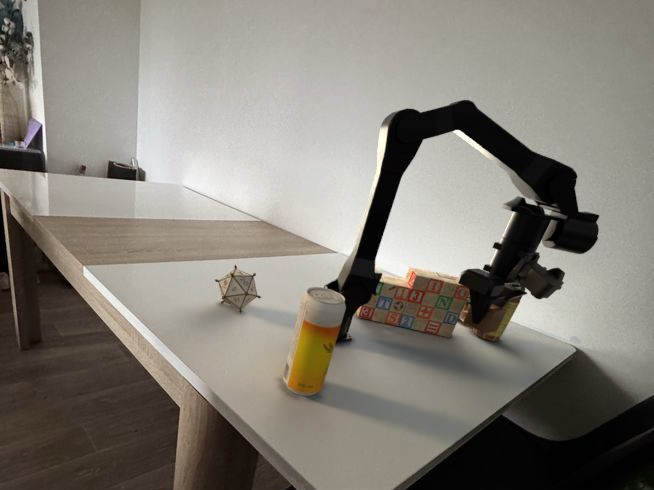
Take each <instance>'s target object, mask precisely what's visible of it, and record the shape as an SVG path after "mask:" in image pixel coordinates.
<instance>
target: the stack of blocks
mask: <svg viewBox="0 0 654 490" xmlns="http://www.w3.org/2000/svg"><path fill="white" fill-rule="evenodd" d="M458 279H459V276H458V277H457V276H453V275H450V274H448V273H443V272H438V271H432V270H427V269H423V268H418V267H413V266H408V269H407V272H406V274H405V277H404V278H401V277H396V276H392V275H388V274H383V273H382V277H381V280H380V282H379V283H378V285H377V289H376V296H374V295H373V294H372V297H371V299H370V301H369V302H368V303H367V304H365V305H363V306H360V307H359V309H358V310H357V311H356V315H357V318H360V319H366V320H371V321H373V322H378V323H383V324H388V325H392V326H396V327H397V326H398V327H401V328H406V329H410V330H416V331H419V332H424V333H428V334H433V335H437V336H441V337H445V338H451V337H452V335H453V332H454V330H455V328H456V325H457V323H458V321H459V320H460V319H459V317H460V315H461V313H462V311H463V309H464V307H465V305H466V302H467V298H468V296H469V294H470V293H469V288H468V287H465V286H463V285H461V284H459V283H458V282H457V281H458Z"/></svg>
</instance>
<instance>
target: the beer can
mask: <svg viewBox="0 0 654 490" xmlns="http://www.w3.org/2000/svg"><path fill="white" fill-rule="evenodd" d="M300 300H301V301H300V305H299V308H298V312H297V316H296V317H297V318H296V322H295V326H294V331H293V333H292V338H291V343H290V346H289V351H288V354H287V359H286V363H285V369H284V372H283V377H282V379H283V382H284V383H285V385H286V387H287V388H288V390H289V391H291V392H292V393H294V394H296V395H299V396H303V397H304V396H305V397H308V396H314V395H315V394H317V393H319V392H320V391H321V390H323V387H324V384H325V381H326V378H327V374H328V371H329V367H330V364H331V360H332V357H333V353H334V350H335V347H336V340H337V336H338V333H339V330H340V326H341V323H342V319H343V316H344V313H345V309H346V306H345V298H344V297H343V296H342V295H341V294H340V293H338V292H336V291H333V290H330V289H326V288H324V287H319V286H313V287H308V288H307V289H306V292H305V293H304V294H303V295H302V296H301V299H300Z"/></svg>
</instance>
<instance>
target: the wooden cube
mask: <svg viewBox="0 0 654 490" xmlns="http://www.w3.org/2000/svg"><path fill="white" fill-rule="evenodd" d="M506 311H507V310H506V309H504V308H502V307H500V306H498V305H495V304H492V305H491V307H490V308H489V310H488V311H487V313H486V314H485V316H484V317H483V319H482V320H481V322H480V323H479V324H474V323H473V322H472V311H471V306H470V308H469V310H468V313H467V315H466V317H465V319H464V322H463V321H462V323H463V324H464V325H467V326H468V327H470V328H472V329H473V328H474V329H476V330H478V331H480V332H482V333H484V334H486V333H490V332H494V331H497V329H498V327H499V325H500V323H501V321H502V319H503V317H504V315H505V313H506Z"/></svg>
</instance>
